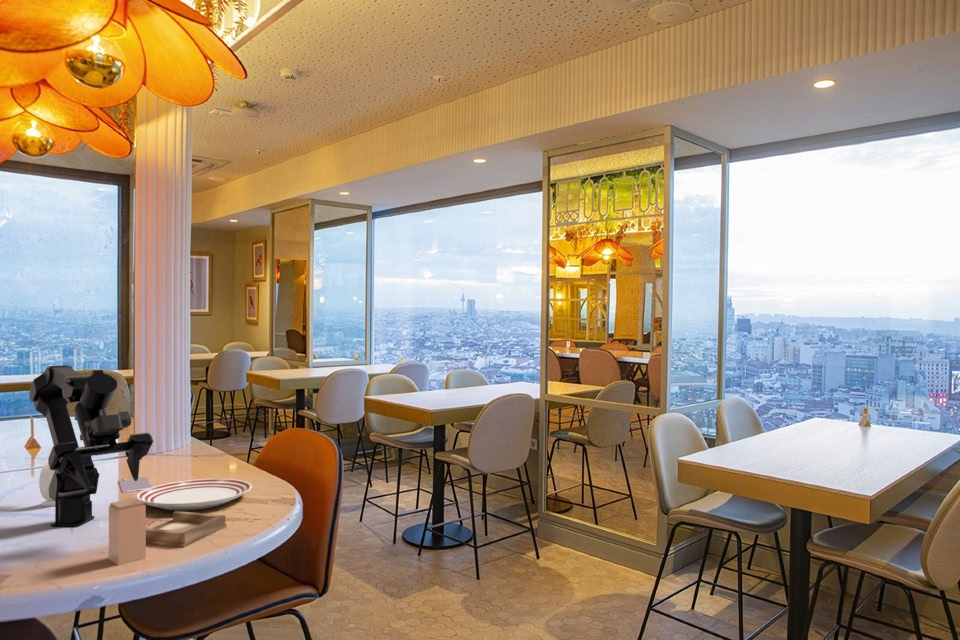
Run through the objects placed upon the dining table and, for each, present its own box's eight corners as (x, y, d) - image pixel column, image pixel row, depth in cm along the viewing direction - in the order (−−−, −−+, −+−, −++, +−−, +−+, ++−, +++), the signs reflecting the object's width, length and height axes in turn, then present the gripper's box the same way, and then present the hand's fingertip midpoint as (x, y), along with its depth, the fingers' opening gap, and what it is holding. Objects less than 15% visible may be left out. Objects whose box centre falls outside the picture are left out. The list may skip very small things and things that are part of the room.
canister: (108, 558, 130) (108, 502, 130) (135, 552, 133) (135, 497, 133) (118, 565, 126) (118, 507, 126) (145, 558, 130) (145, 502, 130)
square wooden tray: (127, 541, 140) (127, 528, 140) (174, 521, 153) (174, 510, 153) (183, 547, 136) (183, 534, 136) (226, 526, 150) (226, 515, 150)
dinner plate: (142, 493, 179) (142, 480, 179) (250, 484, 189) (250, 472, 189) (129, 522, 153) (129, 508, 153) (253, 510, 163) (253, 497, 163)
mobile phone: (122, 490, 178) (118, 479, 191) (122, 494, 178) (118, 482, 191) (153, 486, 182) (147, 475, 195) (153, 490, 182) (147, 479, 195)
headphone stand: (72, 500, 171) (72, 454, 171) (57, 507, 165) (57, 459, 165) (54, 500, 171) (54, 454, 171) (38, 507, 165) (39, 459, 165)
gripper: (52, 404, 132) (70, 468, 124) (150, 395, 146) (171, 453, 138) (40, 438, 137) (57, 501, 130) (135, 427, 151) (155, 484, 144)
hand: (112, 483), depth 135 cm, fingers open, 9 cm apart
